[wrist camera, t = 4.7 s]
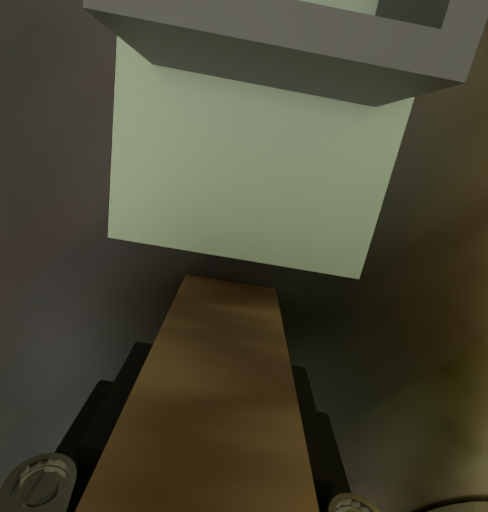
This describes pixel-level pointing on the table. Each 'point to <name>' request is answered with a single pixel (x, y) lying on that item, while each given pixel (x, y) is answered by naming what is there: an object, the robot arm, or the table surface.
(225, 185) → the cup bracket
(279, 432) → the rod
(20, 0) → the table surface
